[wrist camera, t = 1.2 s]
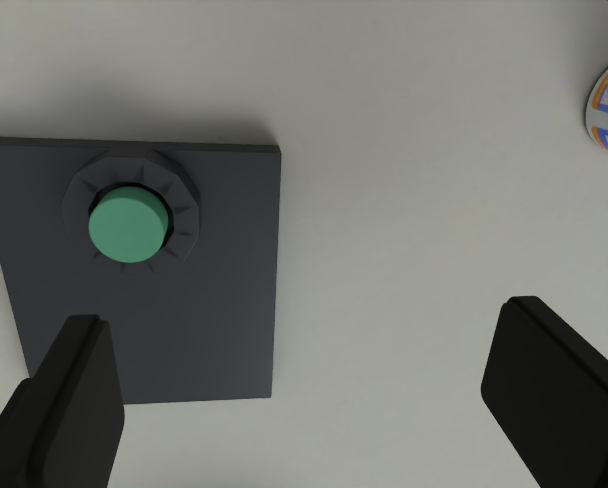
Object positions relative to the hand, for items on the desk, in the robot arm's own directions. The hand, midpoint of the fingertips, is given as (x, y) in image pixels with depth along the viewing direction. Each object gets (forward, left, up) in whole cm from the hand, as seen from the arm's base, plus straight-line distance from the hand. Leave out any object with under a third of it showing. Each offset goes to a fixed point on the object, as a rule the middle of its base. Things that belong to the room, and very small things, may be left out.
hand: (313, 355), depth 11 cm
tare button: (+2, -7, -12) cm, 14 cm away
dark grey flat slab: (+7, -7, -15) cm, 18 cm away
